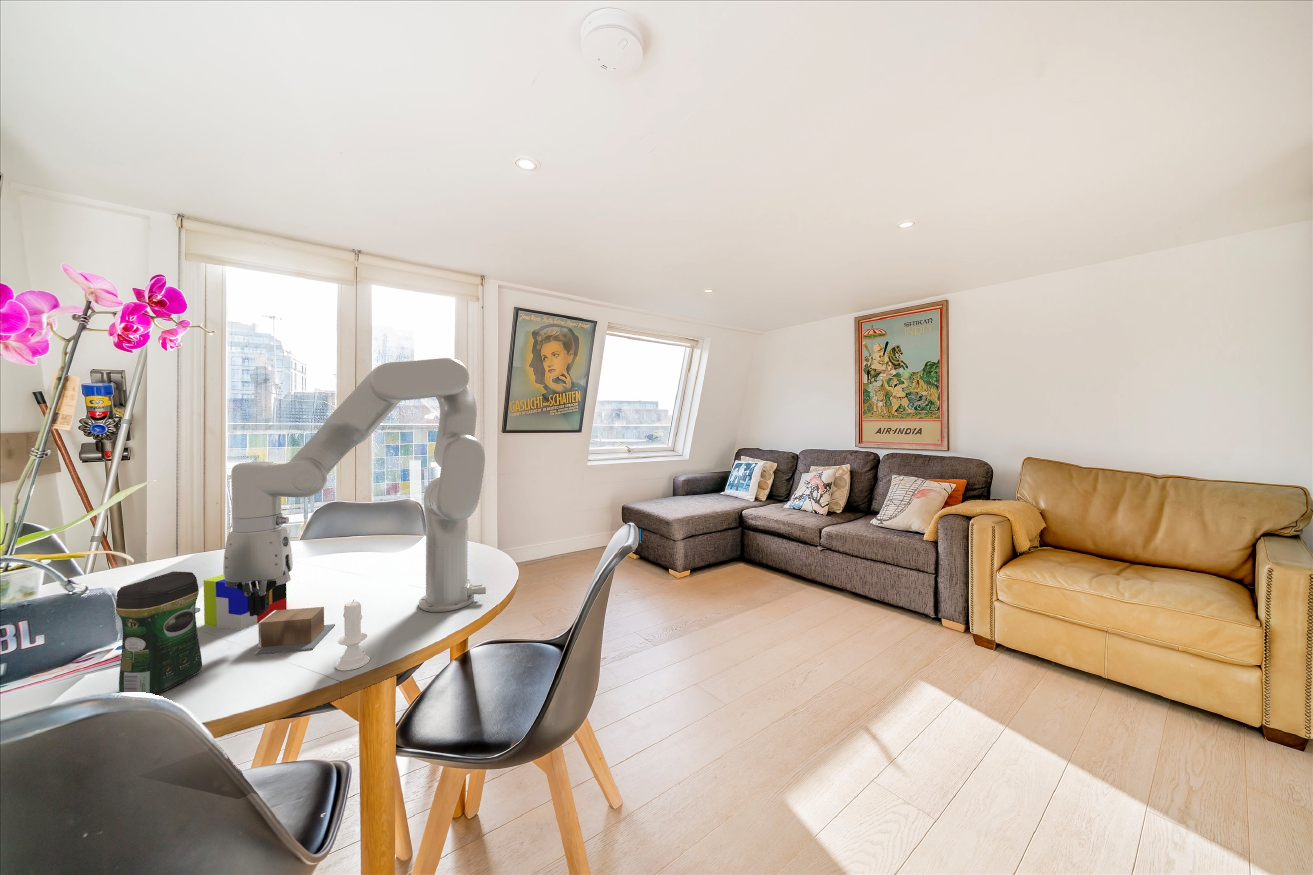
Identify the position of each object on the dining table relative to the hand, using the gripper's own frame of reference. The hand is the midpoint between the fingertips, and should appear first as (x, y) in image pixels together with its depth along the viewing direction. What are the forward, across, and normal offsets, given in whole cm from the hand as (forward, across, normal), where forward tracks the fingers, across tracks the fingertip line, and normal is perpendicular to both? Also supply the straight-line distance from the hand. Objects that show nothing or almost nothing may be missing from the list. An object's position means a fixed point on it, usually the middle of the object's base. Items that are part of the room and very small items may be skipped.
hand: (258, 613), depth 95 cm
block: (+3, -1, 0) cm, 4 cm away
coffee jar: (+6, +8, +13) cm, 17 cm away
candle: (+6, -21, +13) cm, 25 cm away
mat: (+6, -7, 0) cm, 9 cm away
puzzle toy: (+6, +9, -14) cm, 18 cm away
